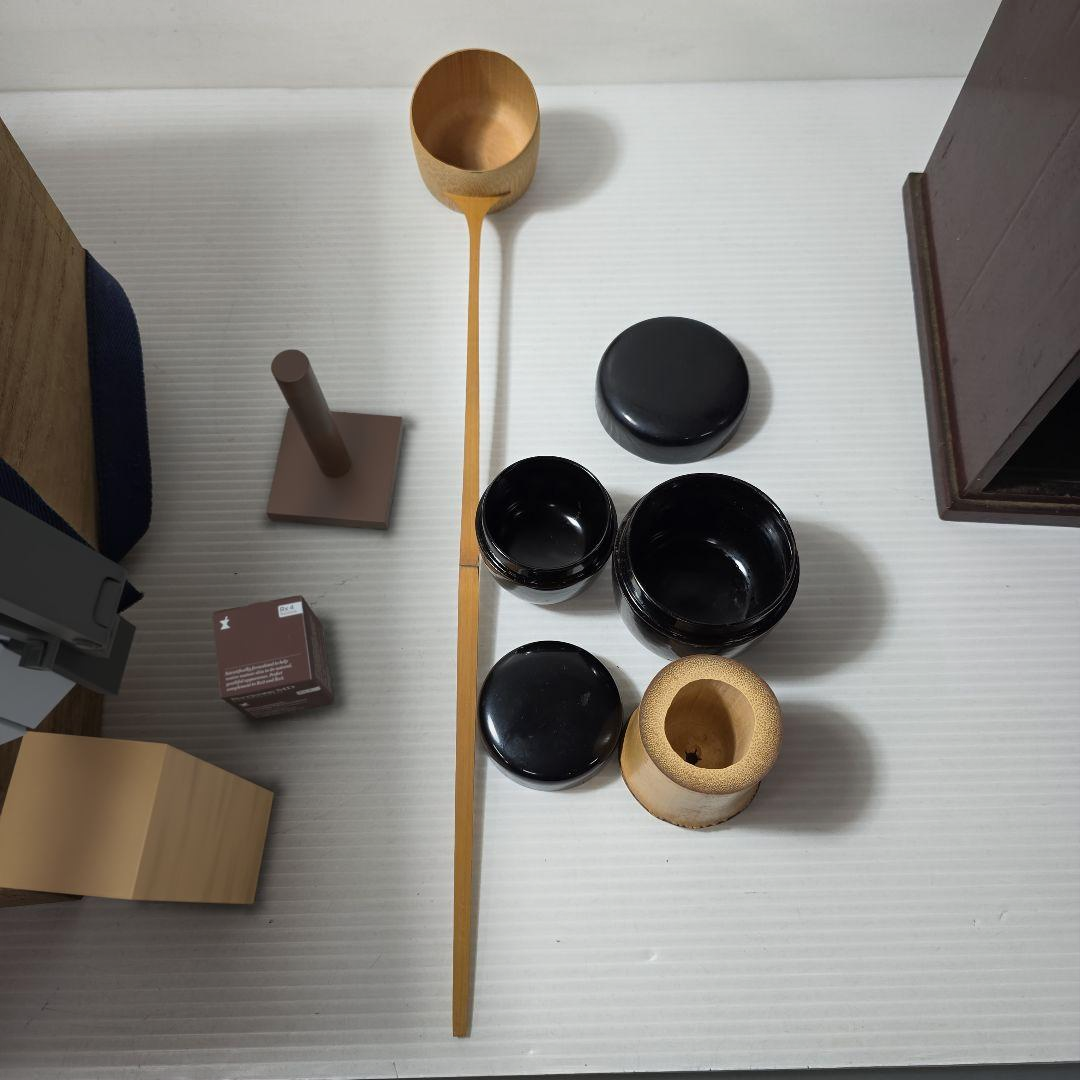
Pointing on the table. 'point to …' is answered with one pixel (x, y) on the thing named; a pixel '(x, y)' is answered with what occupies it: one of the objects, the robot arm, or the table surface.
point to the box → (272, 657)
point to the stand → (130, 822)
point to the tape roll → (25, 694)
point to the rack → (331, 456)
